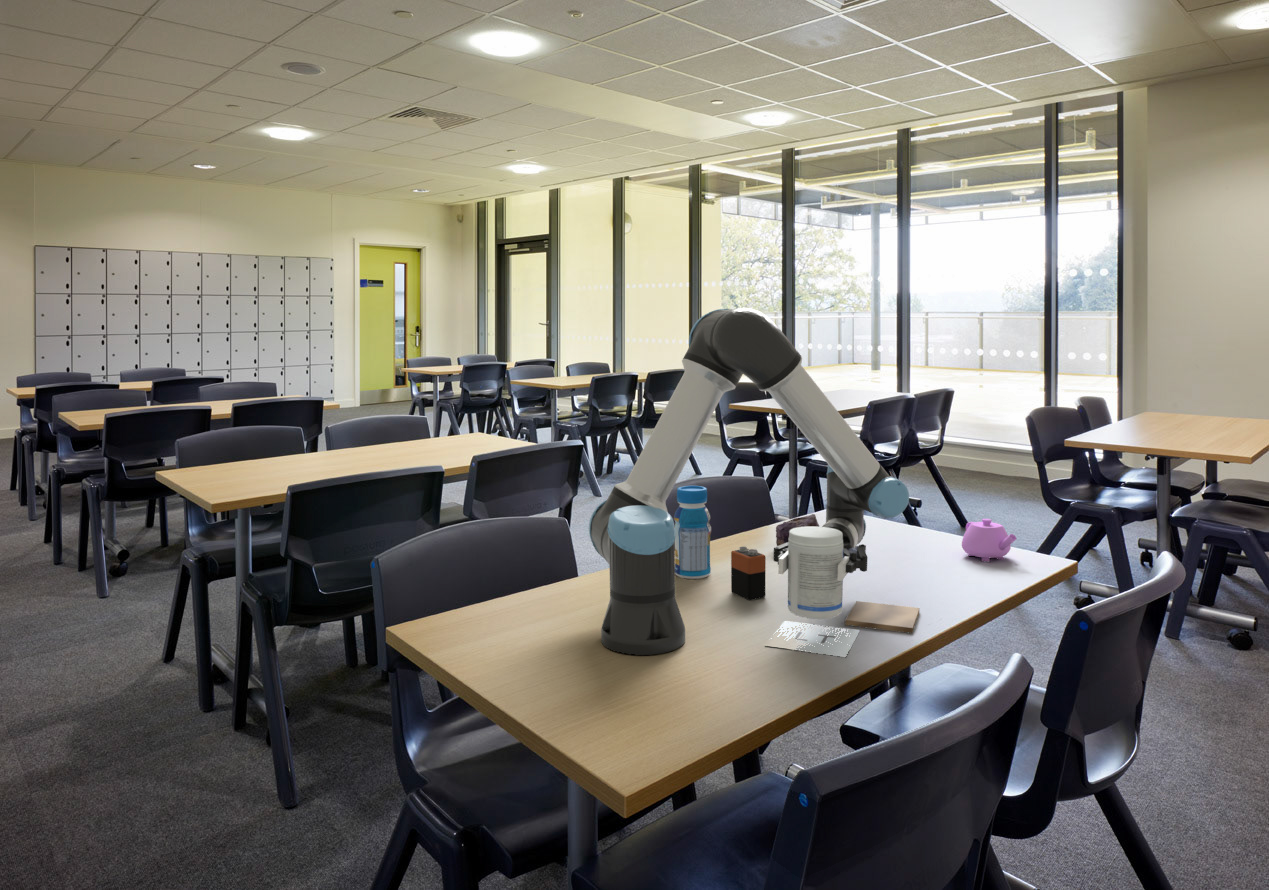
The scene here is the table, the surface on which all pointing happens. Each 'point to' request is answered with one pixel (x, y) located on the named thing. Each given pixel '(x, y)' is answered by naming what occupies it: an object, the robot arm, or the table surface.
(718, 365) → the robot arm
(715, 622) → the table surface
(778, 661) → the table surface
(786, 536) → the rock
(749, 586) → the battery
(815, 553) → the supplement tub
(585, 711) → the table surface
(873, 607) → the walnut square
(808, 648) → the label card
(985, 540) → the teapot
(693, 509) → the beverage bottle
